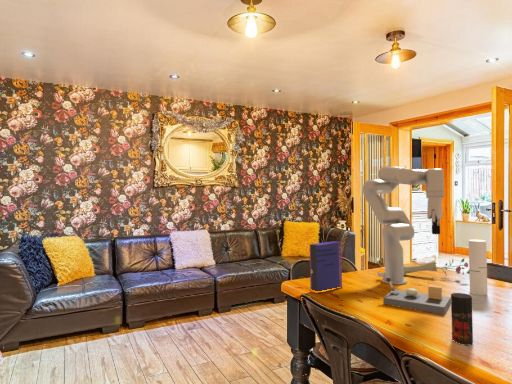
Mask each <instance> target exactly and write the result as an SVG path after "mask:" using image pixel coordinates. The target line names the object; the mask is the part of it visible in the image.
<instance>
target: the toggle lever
mask: <svg viewBox="0 0 512 384" xmlns="http://www.w3.org/2000/svg"><path fill="white" fill-rule="evenodd" d="M386 281H387V282H389V283H388V284H389V286H390V288H391V291H395V290H394V289H395V288H394V286H393V285H394V284H392V283H391V279H390V278H389V277H387V278H386Z"/></svg>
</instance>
